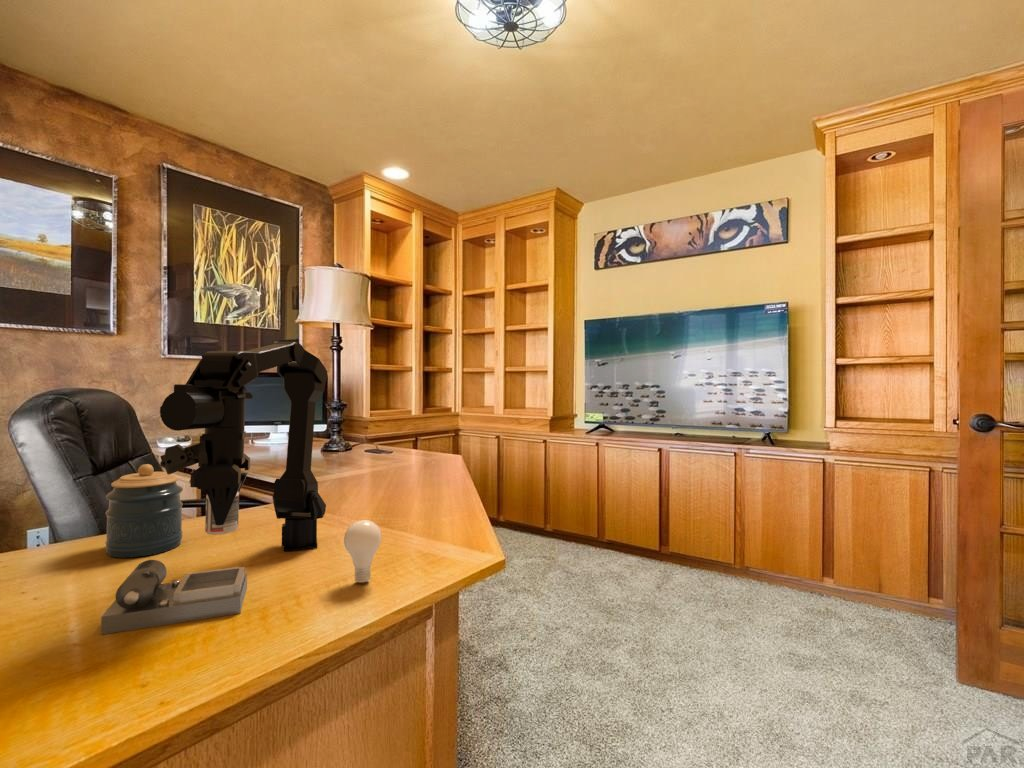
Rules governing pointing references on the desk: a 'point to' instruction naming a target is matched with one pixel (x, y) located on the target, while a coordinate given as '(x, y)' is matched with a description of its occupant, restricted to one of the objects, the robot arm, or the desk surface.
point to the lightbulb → (362, 547)
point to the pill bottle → (230, 521)
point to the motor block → (173, 597)
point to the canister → (144, 514)
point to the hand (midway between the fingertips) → (222, 521)
